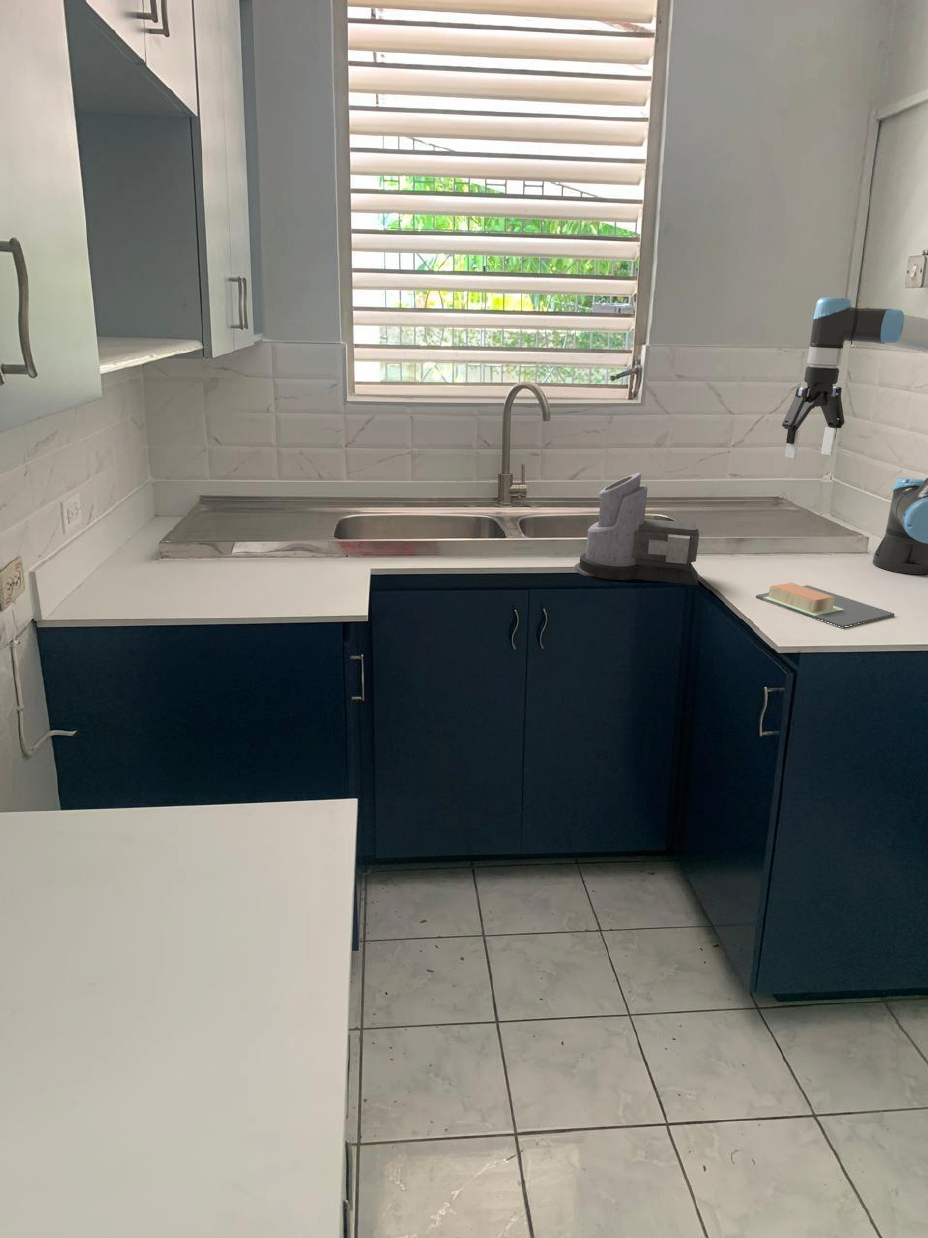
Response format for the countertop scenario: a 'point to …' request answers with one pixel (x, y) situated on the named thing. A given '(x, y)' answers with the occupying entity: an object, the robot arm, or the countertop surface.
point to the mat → (837, 610)
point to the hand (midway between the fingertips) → (808, 455)
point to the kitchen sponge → (801, 597)
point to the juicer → (637, 540)
